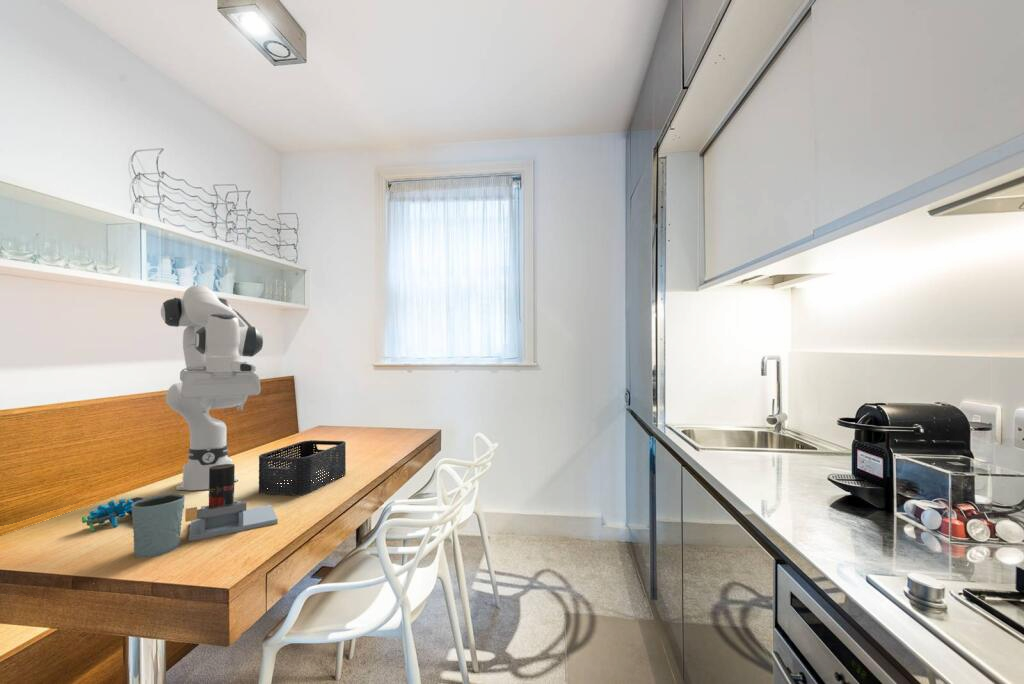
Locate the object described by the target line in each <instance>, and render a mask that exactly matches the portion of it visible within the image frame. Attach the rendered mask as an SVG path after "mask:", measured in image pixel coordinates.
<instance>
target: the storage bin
mask: <svg viewBox="0 0 1024 684" xmlns="http://www.w3.org/2000/svg"><path fill="white" fill-rule="evenodd" d="M318 445H320V446H321V445H322V446H332V447H330V448H327V449H318ZM346 445H347V444H346V441H345V440H314V439H313V440H311V439H310V440H303V441H299V442H296V443H295V442H294V443H293V444H290V445H287V446H283V447H280V448H277V449H274V450H271V451H268V452H264V453H261V454H259V455H258V493H259V494H260V493H265V494H264V495H277V494H284V495H285V496H304V494H305V495H307V493H308V494H311V493H312V491H313V492H315V491H317V490H318V488H319V489H320V487H321V488H322V486H323V487H324V485H325V484H327V483H329V482H331V481H333V480H334V481H336V480H338V479H340V478H342V477H343V476H342V475H344V474H345V475H346V474H347V470H346V469H347V468H346V467H347V466H346V465H347V462H346V459H347V458H346V456H347V455H346ZM320 470H321V471H320ZM318 471H319V472H318ZM324 471H325V472H324ZM316 472H317V473H316ZM322 472H323V473H322ZM328 472H329V473H328ZM320 473H321V474H320ZM326 473H327V474H326ZM318 474H319V475H318ZM324 474H325V475H324ZM322 475H323V476H322ZM328 475H329V476H328ZM345 475H344V476H345ZM320 476H321V477H320ZM341 476H342V477H341ZM318 477H319V478H318ZM324 477H325V478H324ZM339 477H340V478H339ZM316 478H317V479H316ZM322 478H323V479H322ZM333 478H334V479H333ZM337 478H338V479H337ZM320 479H321V480H320ZM331 479H332V480H331ZM335 479H336V480H335ZM284 480H285V481H284ZM287 480H288V481H287ZM291 480H292V481H291ZM311 480H312V481H311ZM318 480H319V481H318ZM322 481H323V482H322ZM334 481H333V482H334ZM313 482H314V483H313ZM277 483H278V484H277ZM280 483H282V484H280ZM284 483H285V484H284ZM287 483H289V484H287ZM331 483H332V482H331ZM329 484H330V483H329ZM327 485H328V484H327ZM281 486H282V487H281ZM325 486H326V485H325ZM267 488H268V489H267ZM316 489H317V490H316ZM314 490H315V491H314ZM310 492H311V493H310ZM284 495H283V496H284Z"/></svg>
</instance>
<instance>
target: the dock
mask: <svg viewBox="0 0 1024 684" xmlns="http://www.w3.org/2000/svg"><path fill="white" fill-rule="evenodd" d="M239 502H242V501H241V499H239V500H234V503H239ZM204 508H209V504H208V505H203V506H202V505H201V506H200V509H204ZM275 524H278V517H277V515H276V512H275V509H274V508H273V505H272V504H268V505H262V506H256V507H251V508H246V511H241V512H236V513H230V514H225V515H219V516H213V517H208V518H202V519H197V520H193V521H190V526H189V537H188V542H192V541H197V540H202V539H207V538H212V537H217V536H222V535H227V534H231V533H235V532H242V531H246V530H250V529H256V528H260V527H261V528H262V527H265V526H271V525H275Z"/></svg>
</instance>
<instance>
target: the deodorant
mask: <svg viewBox="0 0 1024 684" xmlns="http://www.w3.org/2000/svg"><path fill="white" fill-rule="evenodd" d="M235 468H236V466H235V464H233V463H232V464H222V465H216V466H212V467H210V468H209V489H208V505H209V507H215V506H221V505H227V504H233V503H234V501H235V482H234V476H235V471H236V470H235Z"/></svg>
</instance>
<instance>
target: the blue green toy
mask: <svg viewBox="0 0 1024 684" xmlns="http://www.w3.org/2000/svg"><path fill="white" fill-rule="evenodd" d="M107 504H108V505H104V504H99V505H98V506H97V507H96V510H95V509H93V510H90V511H89V515H88V516H86V515H85V516H82V517H81V522H82V524H84V523H85V524H86V526H88V527H89V530H90V533H94V532H95V527H94V525H97V524H98V525H103V524H105V523H106V522H107V521H109V523H111V525H112V528H117V527H118V521H117V520H118V519H117V518H119V519H122V518H125V517H126V516H127V515H126V514H127V513H130V512H132V509H131V505H132V504H133V500H131V499H127V500H126V499H125V498H121V499H119V500H118V503H116V502H115V500H111V501H108V502H107Z"/></svg>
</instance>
